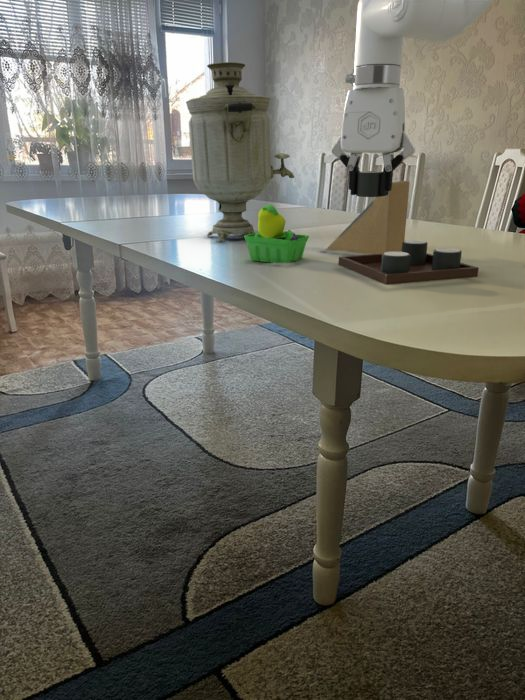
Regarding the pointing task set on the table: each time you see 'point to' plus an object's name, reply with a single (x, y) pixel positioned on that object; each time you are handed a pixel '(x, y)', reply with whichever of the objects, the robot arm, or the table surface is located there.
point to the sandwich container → (378, 224)
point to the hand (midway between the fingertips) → (369, 193)
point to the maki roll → (368, 184)
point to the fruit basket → (274, 239)
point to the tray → (372, 269)
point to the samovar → (231, 147)
